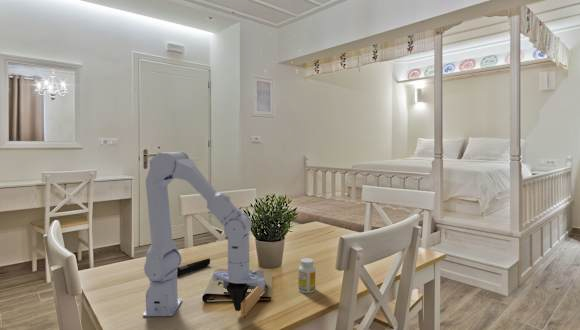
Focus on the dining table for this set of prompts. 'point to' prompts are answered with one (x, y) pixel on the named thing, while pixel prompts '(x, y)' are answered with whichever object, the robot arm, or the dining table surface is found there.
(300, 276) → the supplement bottle
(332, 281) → the dining table surface
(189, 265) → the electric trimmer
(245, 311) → the side door
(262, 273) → the camera body
